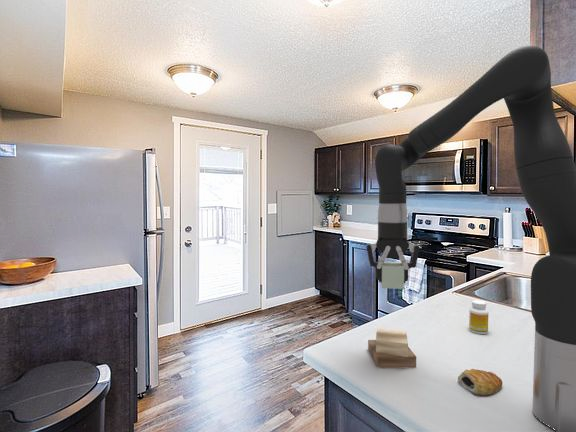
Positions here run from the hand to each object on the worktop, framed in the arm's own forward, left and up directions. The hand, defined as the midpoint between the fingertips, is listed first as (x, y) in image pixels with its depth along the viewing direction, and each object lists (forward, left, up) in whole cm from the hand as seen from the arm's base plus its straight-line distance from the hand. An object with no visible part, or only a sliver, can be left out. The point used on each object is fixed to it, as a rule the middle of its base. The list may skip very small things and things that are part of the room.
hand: (392, 281), depth 88 cm
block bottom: (0, 0, -22) cm, 22 cm away
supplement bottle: (+23, -30, -21) cm, 43 cm away
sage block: (0, 0, -1) cm, 1 cm away
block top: (-1, 0, -18) cm, 18 cm away
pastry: (-10, -19, -22) cm, 30 cm away
